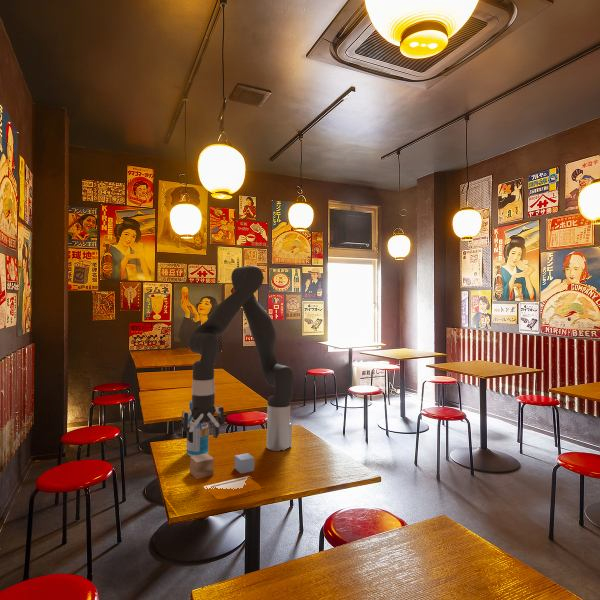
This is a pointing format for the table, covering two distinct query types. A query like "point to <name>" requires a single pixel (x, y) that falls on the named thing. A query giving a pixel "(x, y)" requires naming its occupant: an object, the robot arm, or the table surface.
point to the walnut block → (201, 465)
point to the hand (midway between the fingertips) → (203, 439)
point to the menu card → (229, 484)
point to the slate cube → (244, 463)
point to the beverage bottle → (198, 438)
